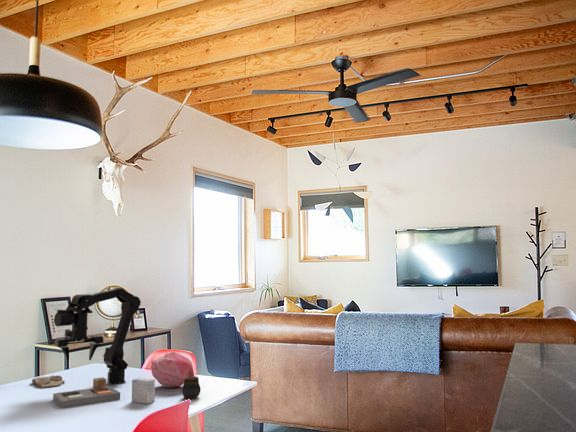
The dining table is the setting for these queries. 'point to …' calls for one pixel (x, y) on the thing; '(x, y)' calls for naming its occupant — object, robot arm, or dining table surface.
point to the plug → (99, 384)
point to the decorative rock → (171, 369)
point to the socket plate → (85, 397)
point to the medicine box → (143, 390)
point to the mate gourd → (191, 387)
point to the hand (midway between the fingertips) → (78, 361)
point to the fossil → (48, 381)
